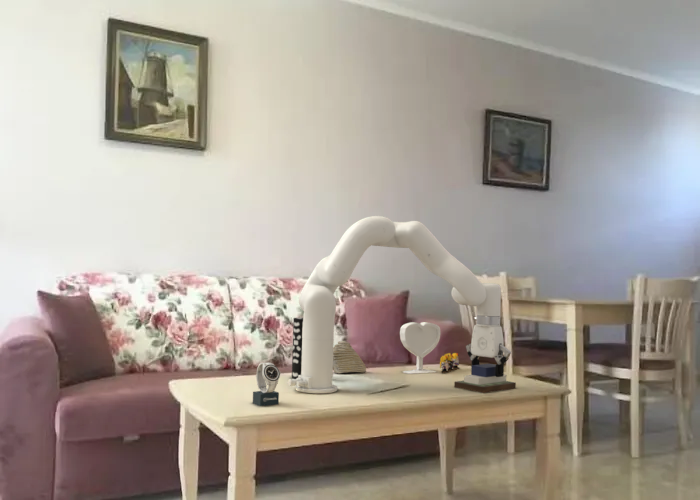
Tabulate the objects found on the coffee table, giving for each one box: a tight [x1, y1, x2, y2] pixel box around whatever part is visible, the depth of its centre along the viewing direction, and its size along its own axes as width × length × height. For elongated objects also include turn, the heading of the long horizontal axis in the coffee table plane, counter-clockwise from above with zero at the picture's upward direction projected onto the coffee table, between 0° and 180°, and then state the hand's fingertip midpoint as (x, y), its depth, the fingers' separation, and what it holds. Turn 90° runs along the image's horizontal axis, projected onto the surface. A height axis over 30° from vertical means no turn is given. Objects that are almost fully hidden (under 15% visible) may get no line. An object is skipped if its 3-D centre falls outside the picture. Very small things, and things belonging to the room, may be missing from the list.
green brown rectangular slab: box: [454, 379, 517, 394], centre depth 217 cm, size 16×12×2 cm
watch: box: [252, 361, 282, 407], centre depth 183 cm, size 6×8×11 cm
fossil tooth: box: [333, 340, 367, 375], centre depth 241 cm, size 12×6×15 cm
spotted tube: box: [291, 317, 303, 379], centre depth 227 cm, size 8×8×20 cm
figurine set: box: [439, 352, 461, 374], centre depth 253 cm, size 3×16×7 cm, turn 151°
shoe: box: [463, 363, 507, 385], centre depth 217 cm, size 14×6×5 cm, turn 130°
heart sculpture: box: [399, 321, 442, 375], centre depth 248 cm, size 16×5×18 cm, turn 117°
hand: (487, 374), depth 218 cm, fingers open, 9 cm apart
